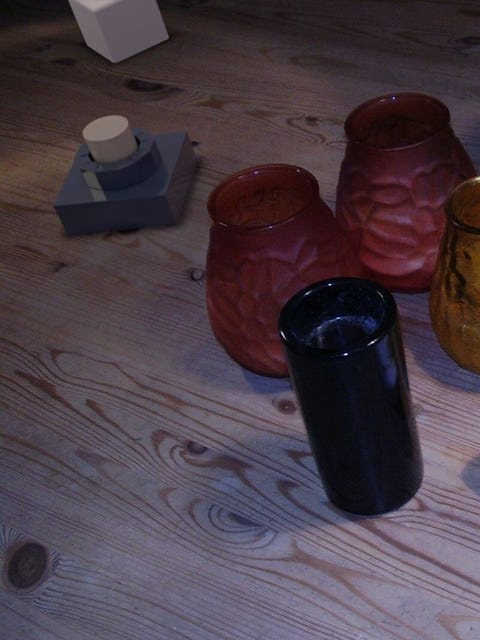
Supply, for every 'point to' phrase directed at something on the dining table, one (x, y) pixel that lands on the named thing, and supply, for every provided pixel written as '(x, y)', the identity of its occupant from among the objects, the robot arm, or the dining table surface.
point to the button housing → (128, 186)
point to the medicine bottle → (119, 26)
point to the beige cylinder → (110, 139)
